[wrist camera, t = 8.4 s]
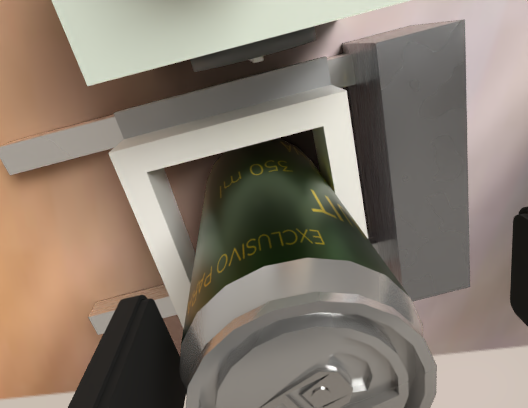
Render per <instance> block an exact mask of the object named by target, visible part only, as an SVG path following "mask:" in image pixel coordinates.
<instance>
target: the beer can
mask: <svg viewBox="0 0 528 408" xmlns="http://www.w3.org/2000/svg"><path fill="white" fill-rule="evenodd" d="M436 371H437V366H436V363H435V361H434V359H433V357H432V354H431V352H430V350H429V348H428V346H427V344H426V341H425V339H424V338H423V324H422V322H421V320H420V318H419V316H418V313H417V311H416V309H415V307H414V305H413V302H412V300H411V298H410V296H409V295H408V294H407V292H406V291H405V290H404V288H403V287H402V285H401V284H400V283H399V281H398V280H397V278H396V277H395V276H394V274H393V273H392V272H391V270H390V269H389V267H388V266H387V265H386V263H385V262H384V261H383V259H382V258H381V256H380V255H379V254H378V252H377V251H376V249H375V248H374V247H373V245H372V244H371V243H370V241H369V240H368V238H367V237H366V236H365V234H364V233H363V232H362V230H361V229H360V227H359V226H358V225H357V223H356V222H355V220H354V219H353V218H352V216H351V215H350V214H349V212H348V211H347V209H346V208H345V207H344V205H343V204H342V203H341V201H340V200H339V198H338V197H337V196H336V194H335V193H334V191H333V190H332V189H331V187H330V186H329V185H328V183H327V182H326V180H325V179H324V178H323V176H322V175H321V174H320V172H319V171H318V169H317V168H316V167H315V165H314V164H313V162H312V161H311V160H310V159H309V158H308V157H307V156H306V155H305V154H304V153H303V152H302V151H301V150H300V149H299V148H298V147H297V146H294V145H292V144H290V143H288V142H286V141H284V140H282V139H272V140H268V141H264V142H261V143H257V144H253V145H249V146H245V147H242V148H238V149H234V150H230V151H226V152H224V154H223V155H222V156H221V157H220V158H219V159H218V160H217V161H216V162H215V163H214V165H213V168H212V170H211V172H210V174H209V177H208V179H207V184H206V190H205V197H204V203H203V209H202V216H201V222H200V228H199V235H198V241H197V248H196V254H195V260H194V267H193V273H192V279H191V286H190V292H189V298H188V305H187V311H186V317H185V324H184V330H183V336H182V343H181V356H180V370H179V376H180V378H181V381H182V384H183V386H184V389H185V392H186V395H187V400H186V408H430V407H431V405H432V402H433V400H434V397H435V395H436Z"/></svg>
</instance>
